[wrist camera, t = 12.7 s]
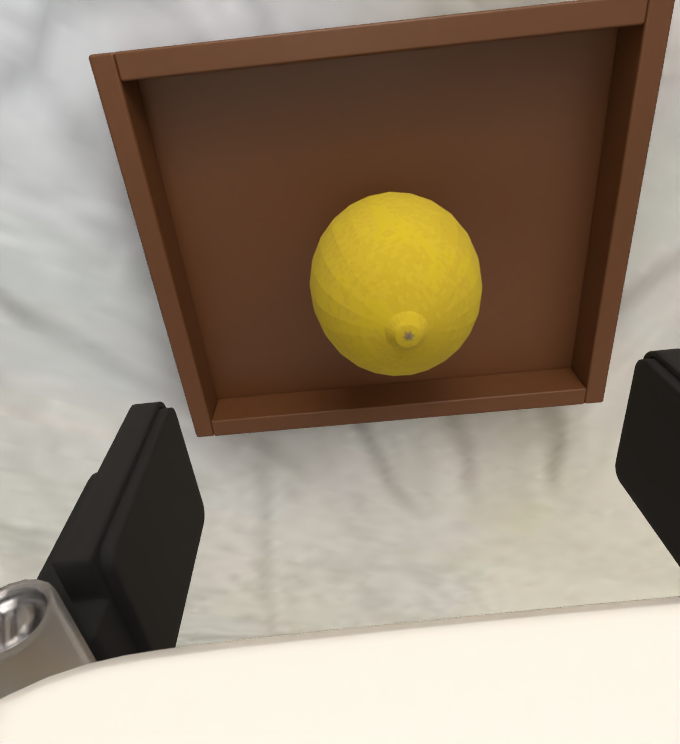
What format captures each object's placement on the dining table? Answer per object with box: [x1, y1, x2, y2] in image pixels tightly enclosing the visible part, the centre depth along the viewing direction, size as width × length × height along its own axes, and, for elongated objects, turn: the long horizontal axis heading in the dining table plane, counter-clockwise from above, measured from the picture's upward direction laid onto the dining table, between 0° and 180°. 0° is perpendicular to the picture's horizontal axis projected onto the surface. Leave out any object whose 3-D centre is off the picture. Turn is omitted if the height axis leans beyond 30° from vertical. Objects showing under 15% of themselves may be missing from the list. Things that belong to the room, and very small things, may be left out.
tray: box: [89, 0, 675, 437], centre depth 21 cm, size 18×15×3 cm
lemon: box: [310, 192, 482, 376], centre depth 18 cm, size 6×6×8 cm
